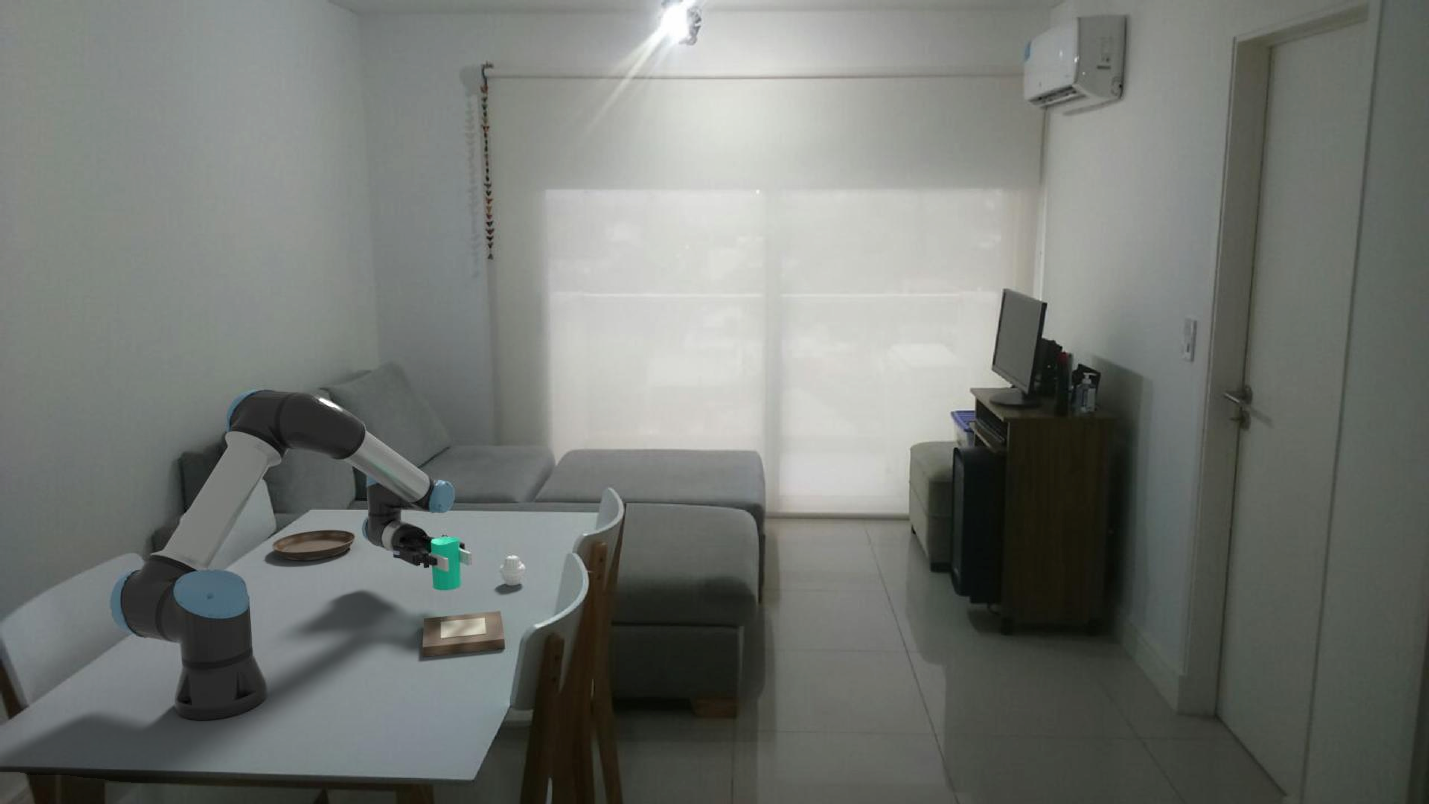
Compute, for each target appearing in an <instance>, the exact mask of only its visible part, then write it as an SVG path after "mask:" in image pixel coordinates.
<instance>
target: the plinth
mask: <svg viewBox="0 0 1429 804" xmlns="http://www.w3.org/2000/svg"><path fill="white" fill-rule="evenodd" d="M505 641H506V639H505V632H504V626H503V620H502V613H501V611H500V610H497V611H495V610H494V611H488V612H477V613H467V614H466V613H465V614H455V615H446V616H433V617H426V618H425V617H424V618H423V634H422V657H432V655H435V656H443V655H452V654H463V653H462V652H464V653H470V652H471V653H472V652H481V651H480V650H483V651H492V650H499V649H498V648H502V649H505V648H506V643H505Z"/></svg>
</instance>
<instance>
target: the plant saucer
mask: <svg viewBox="0 0 1429 804" xmlns="http://www.w3.org/2000/svg"><path fill="white" fill-rule="evenodd" d="M355 539H356V535H355V533H353V532H351V531H348V530H340V529H321V530H318V529H317V530H310V531H304V532H298V533H293V534H290V535H286V536H283V537H280V538H278V539H277V540H275V541H274V542H273V543H272V544H271V548H272V549H273V550H274V551H275V553H276V554H278V556H280V557H282V558H284V559H287V560H290V561H291V560H292V561H314V560H321V559H327V558H331V557H334V556H337V555H339V554H342V553H344V552H345V551H347V550H348V549H349V547H351V546H352V544H353V543H354V541H355Z"/></svg>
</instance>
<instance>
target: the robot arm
mask: <svg viewBox="0 0 1429 804" xmlns="http://www.w3.org/2000/svg"><path fill="white" fill-rule="evenodd" d="M225 419H226V420H227V422H225V430H226V434H225V436H224V439H225V441H226V445H227V448H226V449H225V451H224V452H223V454H222V456H221V458H220V459H219V460H218V462H217V464H216V465H215V467H214V468H213V469H212V472H211V474H210V475H209V477H208V478H207V480H206V481H205V483H204V484H203V486H202V488H201V489H200V491H199V492H198V494H197V496H196V497H195V498H194V500H193V502H192V504H191V505H190V506H189V508H188V509H187V511H186V513H185V515H184V516H183V518H182V520H181V521H180V523H179V524H178V525H177V527H176V529H175V531H174V532H173V534H172V536H171V537H170V538H169V540H168V542H167V543H166V545H165V546H164V548H163V549H162V550H159V551H155V552H152V553H150V555H148V557H147V559H146V560H145V562H144V563H143V565H142V566H141V568H139V569H137V568H135V569H134V570H131V571H129V572H125V573H124V574H123V575H122V576H121V577H120V578H118V580H117V581H116V582H115V583H114V585H113V588H112V590H111V594H110V598H109V608H110V610H111V614H110V615H111V618H112V620H113V622H114V624H115V625H116V626H117V627H118V628H120V629H121V630H122V631H124V632H125V633H129V634H132V635H135V636H136V637H139V638H145V639H147V638H149V639H155V640H160V641H165V642H170V643H175V644H179V647H180V655H181V657H180V658H181V672H180V675H179V679H178V683H177V687H176V691H175V695H174V707H175V712H176V714H177V715H178V716H180V717H182V718H185V719H187V720H197V721H198V720H199V721H205V720H207V721H208V720H209V721H210V720H217V719H223V718H227V717H231V716H236V715H239V714H242V713H245V712H246V711H249V710H252V709H253V708H255V707H257V706H258V705H260V704H261V703H263V701H264V700H265V699H266V698H267V695H268V688H267V687H268V686H267V681H266V678H265V676H264V674H263V672H262V670H261V667H260V665H259V664H258V662H257V660H256V658H255V655H254V650H253V649H254V647H253V634H252V622H251V621H252V620H251V618H252V617H251V607H250V603H251V602H250V596H249V592H248V588H247V583H246V581H245V579H244V578H243V577H242V576H241V575H239V574H238V573H235V572H233V571H229V570H225V569H214V570H210V569H209V568H210V566H211V565H212V563H213V561H214V560H215V558H216V556H218V555H217V554H218V553H219V551H220V550H221V548H222V546H223V544H224V542H225V541H226V540H227V538H228V536H229V535H230V533H231V531H232V530H233V527H235V524H236V523H237V521H238V519H239V518H240V516H241V514H242V512H243V511H244V509H245V508H246V506H247V504H248V502H249V501H250V500H251V498H252V496H253V494H254V493H255V490H256V489H257V488H258V485H260V483H261V480H262V479H263V477H264V475H265V474H266V473H267V471H268V469H269V468H270V467H274V466H275V467H276V466H278V465H280V464H281V463H282V461H283V459H284V458H285V456H286V454H287V452H288V451H289V450H298V451H299V450H301V451H308V452H309V451H310V452H316V453H320V454H324V455H326V456H328V457H329V458H331V459H333V460H334V461H345V462H346V463H348V464H349V465H351V466H352V467H353V468H355V469H357V470H358V471H360V472H361V473H363V474H365V476H366V485H365V488H366V499H367V510H368V511H367V516H366V517H365V518H364V520H363V523H362V525H361V533H362V536H363V538H364V539H365V540H366V541H367V542H369V543H371V544H372V545H374V546H376V547H379V548H382V549H384V550H387V551H389V552H391V553H392V555H393V558H395V559H399V560H402V561H404V562H406V563H408V564H411V565H412V566H415V567H419V566H421V564H423V568H424V569H429V568H430V566H431V567H432V566H434V567H437V568H439V569H441V570H444V571H449V563H448V558H446V557H444V556H441V555H437V554H433V553H432V552H431V541H432V539H436V538H435V537H433V536H429V535H428V534H427V532H426V531H425V530H424V529H423V528H422V527H419V526H416V525H414V524H411V523H409V522H407V521H403V520H402V510H408V511H416V512H424V513H431V514H445V513H447V512H448V511H450V510H451V508H452V507H453V505H454V502H455V499H456V493H455V488H454V485H453V484H452V483H451V482H449V481H446V480H442V479H434V478H433V477H431V476H430V475H428V474H427V473H425V472H424V471H422V470H421V469H420V468H418V467H417V466H416V465H414V464H413V463H411V462H410V461H409V460H407V459H406V458H405V457H403V456H402V455H401V454H399V453H398V452H396V451H394V449H392V448H391V447H389V446H388V445H387V444H385V443H384V442H383V441H381V440H380V439H378V438H377V437H375V436H374V435H373V434H371V433H370V432H369V431H367V428H366V425H365V423H364V422H363V421H362V420H361V419H360V418H358V417H357V416H355V415H354V414H353V413H352V412H350V411H348V410H347V409H345V408H344V407H342V406H341V405H338V404H337V403H335V402H333V401H331V400H330V399H328V398H326V397H323V396H321V395H319V394H315V393H311V392H302V391H301V392H298V391H282V390H280V391H279V390H275V389H271V388H270V389H268V388H262V389H261V388H260V389H253V390H252V389H251V390H248V391H245V392H243V393H241V394H239V395H238V396H237V397H236V398H234V399H233V401H232V402H231V403H230V405H229V407H228V409H227V411H226V415H225ZM441 537H444V534H442V535H441V536H440V537H439V538H441ZM445 537H449V536H448V535H447V534H445ZM459 547H460V550H459V553H460V564H464V565H467V566H472V565H473V562H472V561H473V559H472V557H473V556H472V552H470V551H468V550H466V547H465V543H464V542H462V541H459Z"/></svg>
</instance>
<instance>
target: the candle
mask: <svg viewBox="0 0 1429 804" xmlns="http://www.w3.org/2000/svg"><path fill="white" fill-rule="evenodd" d="M443 535H444V537H442V536H440V537H441V538H440V537H438V538H435V539H432V541H431V552H432V553H433V554H437V555H441V556H444V557H446V558H448V563H449V571H444V570H441V569H439V568H437V567H434V566H431V571H432V573H431V575H432V588H433V589H434V590H438V591H451V590H456V589H458V588H460V587H461V586H462V576H461V575H462V574H461V573H462V572H461V562H460V553H459V550H460V547H459V542H460V538H459V537H456V536H455V537H449V536H448V537H445V535H446V533H445V532H444V534H443Z"/></svg>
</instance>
